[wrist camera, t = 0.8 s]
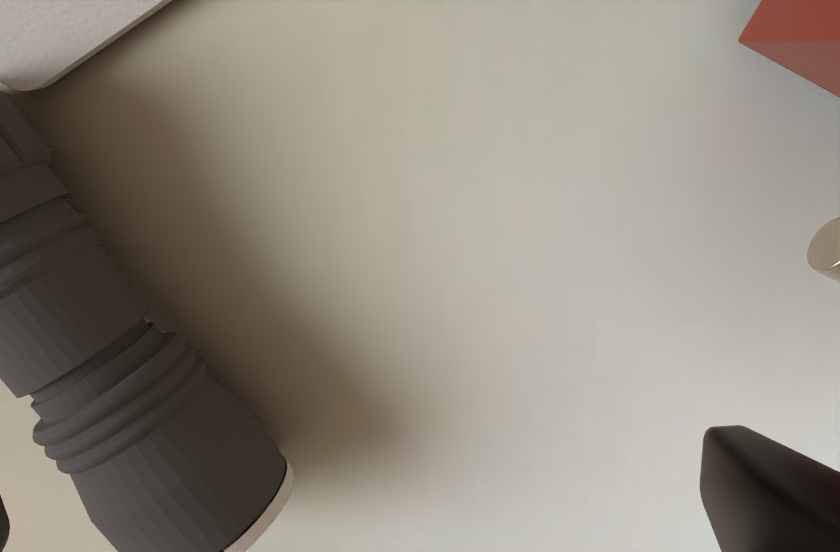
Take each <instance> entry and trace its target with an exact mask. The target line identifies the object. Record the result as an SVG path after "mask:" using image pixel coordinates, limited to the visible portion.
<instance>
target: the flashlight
mask: <svg viewBox="0 0 840 552" xmlns="http://www.w3.org/2000/svg"><path fill="white" fill-rule="evenodd" d="M52 154H53V151H52V150H51V148H50V147H49V146H48V144H47V143H46V142H45V140H44V139H43V138H42V136H41V135H40V134H39V132H38V131H37V130H36V128H35V127H34V126H33V124H32V123H31V122H30V120H29V119H28V117H27V116H26V115H25V113H24V112H23V111H22V109H21V108H20V107H19V105H18V104H17V103H16V101H15V100H14V99H13V97H12V96H11V95H10V94H6V93H4V92H2V91H0V379H1V380H2V381H3V382H4V383H5V384H6V386H7V387H8V388H9V389H10V390H11V391H12V392H13V394H14V395H15V396H16V397H17V398H20V397H23V396H26V395H28V394H30V395H31V397H32V398H33V399H34V401H33V402H32V403H31V407H32V408H33V409H34V410H35V411H36V413H37V414H38V415H39V416H40V417H41V419H40V420H39V422H38V423H37V424H36V425H35V427H34V429H33V440H34V442H35V443H37V444H39V445H41V446H45V454H46V456H47V457H49V458H51V459H53V460H57V461H56V464H57V468H58V470H60V471H61V472H63V473H67V474H70V476H71V478H72V480H73V482H74V484H75V487H76V489H77V491H78V493H79V495H80V497H81V500H82V502H83V504H84V506H85V508H86V511H87V513H88V515H89V517H90V519H91V521H92V523H93V524H94V525H95V526H96V527H97V528H98V529H99V530H100V532H101V533H102V534H103V535H104V536H105V537H106V538H107V539H108V541H109V542H110V543H111V544H112V545H113V546H114V547H115V548H116V550H117V551H118V552H245V551H246V550H247V549H248V548H249V547H250V546H251V545H253V544H254V542H255V541H256V540H257V539H258V538H259V537H260V536H261V535H262V534H263V533H264V531H265V530H266V529H267V528H268V527H269V526H270V525H271V523H272V522H273V521H274V520H275V518H276V517H277V515H278V514H279V513H280V511H281V510H282V508H283V506H284V505H285V503H286V501H287V500H288V497H289V495H290V493H291V491H292V487H293V483H294V471H293V469H292V467H291V466H290V464H289V463H288V462H287V460H286V459H285V458H284V456H283V455H282V454H281V452H280V451H279V450H278V448H277V447H276V446H275V444H274V443H273V442H272V440H271V439H270V438H269V436H268V435H267V433H266V432H265V431H264V429H263V428H262V427H261V425H260V424H259V423H258V421H257V420H256V419H255V417H254V416H253V415H252V413H251V412H250V410H249V409H248V408H247V406H246V405H245V404H244V402H243V401H242V400H241V399H239V398H238V397H237V396H236V395H234V394H233V393H232V392H231V391H229V390H228V389H227V388H226V387H224V386H223V385H222V384H221V383H219V382H218V381H217V380H216V379H214V378H213V377H212V376H211V375H209V374H208V373H207V372H206V364H205V362H204V361H203V360H201V359H198V358H196V357H197V354H196V350H195V349H194V348H193V347H191V346H188V345H187V340H186V337H185V335H183V334H182V333H178V332H168V333H165V334H163V335H162V333H161V332H160V331H159V329H158V328H157V327H156V326H155V324H154V323H152V322H151V323H148V324H147V323H146V322H145V320H144V319H143V317H144V316H145V315H146V314H147V313H148V312H149V309H148V308H147V307H146V305H145V304H144V303H143V301H142V300H141V299H140V297H139V296H138V295H137V293H136V292H135V291H134V289H133V288H132V287H131V285H130V284H129V283H128V281H127V280H126V279H125V277H124V276H123V275H122V273H121V272H120V271H119V269H118V268H117V267H116V265H115V264H114V263H113V261H112V260H111V259H110V257H109V256H108V255H107V253H106V252H105V251H104V249H103V248H102V247H101V245H100V244H99V236H98V234H97V231H96V230H95V229H93V228H91V227H89V226H87V225H85V216H84V214H83V213H80V212H77V211H75V210H73V208H72V207H71V206H70V204H69V203H68V202H67V200H66V199H67V198H68V197H69V196H70V193H69V192H68V190H67V189H66V188H65V186H64V185H63V183H62V182H61V181H60V179H59V178H58V177H57V175H56V174H55V173H54V171H53V170H52V169H51V167H50V166H49V165H50V163H51V159H52Z"/></svg>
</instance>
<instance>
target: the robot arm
mask: <svg viewBox="0 0 840 552" xmlns="http://www.w3.org/2000/svg"><path fill="white" fill-rule="evenodd" d="M700 493H701V498H702V502H703V505H704V508H705V510H706V513H707V515H708V518H709V520H710V523H711V526H712V528H713V531H714V533H715V536H716V538H717V541H718V544H719V546H720V549H721V551H722V552H840V472H838V471H836V470H834V469H832V468H830V467H828V466H825V465H823V464H821V463H819V462H817V461H815V460H813V459H811V458H809V457H807V456H805V455H803V454H801V453H798V452H796V451H794V450H792V449H790V448H788V447H786V446H784V445H782V444H780V443H778V442H776V441H774V440H771V439H769V438H767V437H765V436H763V435H761V434H759V433H757V432H755V431H753V430H751V429H749V428H747V427H744V426H740V425H734V426H718V427H710V428H709V429H708V430H707V431H706V432H705V435H704V439H703V450H702V462H701V475H700ZM9 530H10V524H9V519H8V516H7V513H6V510H5V507H4V504H3V501H2V499H1V496H0V552H2V550H3V549H4V547H5V545H6V542H7V540H8V536H9Z"/></svg>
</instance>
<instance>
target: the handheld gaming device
mask: <svg viewBox="0 0 840 552" xmlns="http://www.w3.org/2000/svg"><path fill="white" fill-rule="evenodd" d="M171 1H172V0H0V81H1V82H2V83H3V84H5V85H6V86H8V87H9V88H12V89H14V90H18V91H28V90H37V89H42V88H45V87H47V86H49V85H51V84H53V83H54V82H55V81H57V80H58V79H60V78H61V77H63V76H64V75H66V74H67V73H68V72H70V71H71V70H73V69H74V68H76V67H77V66H79V65H80V64H81V63H83V62H84V61H86V60H87V59H89V58H90V57H92V56H93V55H94V54H96V53H97V52H99V51H100V50H102V49H103V48H104V47H106V46H107V45H109V44H110V43H112V42H113V41H115V40H116V39H117V38H119V37H120V36H122V35H123V34H125V33H126V32H128V31H129V30H130V29H132V28H133V27H135V26H136V25H138V24H139V23H141V22H142V21H143V20H145V19H146V18H148V17H149V16H151V15H152V14H154V13H155V12H156V11H158V10H159V9H161V8H162V7H164V6H165V5H166V4H168V3H169V2H171Z"/></svg>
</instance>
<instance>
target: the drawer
mask: <svg viewBox="0 0 840 552" xmlns="http://www.w3.org/2000/svg"><path fill="white" fill-rule="evenodd" d="M738 41H739V42H740V43H741V44H743V45H745V46H747V47H749V48H751V49H752V50H754V51H756V52H758V53H760V54H762V55H763V56H765V57H767V58H769V59H771V60H773V61H774V62H776V63H778V64H780V65H782V66H784V67H785V68H787V69H789V70H791V71H793V72H795V73H796V74H798V75H800V76H802V77H804V78H806V79H807V80H809V81H811V82H813V83H815V84H817V85H818V86H820V87H822V88H824V89H826V90H828V91H829V92H831V93H833V94H835V95H837V96H839V97H840V0H762V1H761V3H760V4H759V6H758V8H757V9H756V11H755V13H754V14H753V16H752V18H751V19H750V21H749V23H748V24H747V26H746V28H745V29H744V31H743V32H742V34H741V36H740V37H739V40H738ZM807 258H808V262H809V264H810V266H811V267H812V268H813V269H814V270H816V271H818V272H820V273H822V274H824V275H826V276H828V277H830V278H832V279H834V280H836V281H838V282H840V218H836V219H834V220H831V221H830V222H828V223H827V224H825V225H824V226H823V227H822V228H821V229H820V230H819V231H818V232H817V233H816V235H815V236H814V237H813V239H812V241H811V243H810V245H809V248H808V253H807Z"/></svg>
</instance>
